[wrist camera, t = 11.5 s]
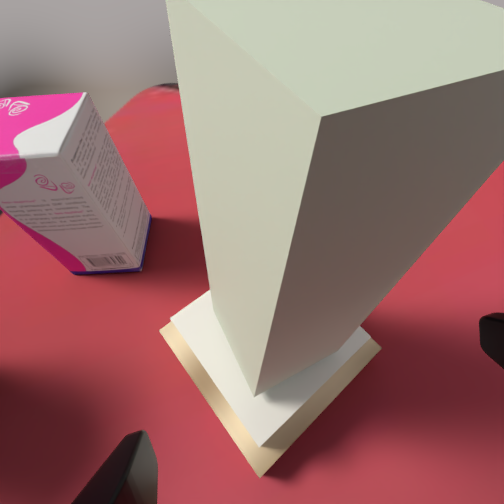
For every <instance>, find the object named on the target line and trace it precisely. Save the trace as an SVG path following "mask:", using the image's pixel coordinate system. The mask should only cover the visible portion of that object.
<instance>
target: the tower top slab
mask: <svg viewBox="0 0 504 504" xmlns="http://www.w3.org/2000/svg"><path fill="white" fill-rule="evenodd" d="M170 319H171V321H172V322H173V324H174V325H175V327H176V328H177V329H178V331H179V332H180V334H181V335H182V337H183V338H184V340H185V341H186V342H187V344H188V345H189V347H190V348H191V350H192V351H193V353H194V354H195V356H196V357H197V358H198V360H199V361H200V363H201V364H202V366H203V367H204V369H205V370H206V371H207V373H208V374H209V376H210V377H211V379H212V380H213V382H214V383H215V385H216V386H217V387H218V389H219V390H220V392H221V393H222V395H223V396H224V398H225V399H226V401H227V402H228V403H229V405H230V406H231V408H232V409H233V411H234V412H235V414H236V415H237V416H238V418H239V419H240V421H241V422H242V424H243V425H244V427H245V428H246V430H247V431H248V432H249V434H250V435H251V437H252V438H253V440H254V441H255V443H256V444H257V445H258V447H260V446H261V445H262V444H263V443H264V442H265V441H266V440H267V439H268V438H269V437H270V436H271V435H272V434H273V433H274V432H275V431H276V430H277V429H278V428H279V427H281V426H282V425H283V424H284V423H285V422H286V421H287V420H288V419H289V418H290V417H291V416H292V415H293V414H294V413H295V412H296V411H297V410H298V409H299V408H300V407H301V406H302V405H303V404H304V403H305V402H306V401H307V400H308V399H309V398H310V397H311V396H312V395H313V394H314V393H315V392H316V391H317V390H318V389H319V388H320V387H321V386H322V385H323V384H324V383H325V382H326V381H327V380H328V379H329V378H330V377H331V376H332V375H333V374H334V373H335V372H336V371H337V370H338V369H339V368H340V367H341V366H342V365H343V364H344V363H345V362H346V361H347V360H348V359H349V358H350V357H351V356H352V355H353V354H354V353H355V352H357V351H358V350H359V349H360V348H361V347H362V346H363V345H364V344H365V343H366V342H367V341H368V340H369V339H370V338H371V336H370V335H369V334H368V333H367V332H366V331H365V330H364V329H363V328H362V327H361V326H359V327H358V328H357V329H356V331H355V332H354V333H353V334H352V335H351V336H350V337H349V339H348V340H347V341H346V342H345V343H344V344H343V346H342V347H341V348H340V349H339V350H338V351H337V352H335V353H333V354H331V355H329V356H328V357H326V358H324V359H322V360H320V361H319V362H317V363H315V364H313V365H311V366H310V367H308V368H306V369H304V370H302V371H301V372H299V373H297V374H295V375H293V376H292V377H290V378H288V379H286V380H284V381H283V382H281V383H279V384H277V385H275V386H274V387H272V388H270V389H268V390H266V391H265V392H263V393H261V394H259V395H257V396H256V397H254V396H253V394H252V392H251V390H250V388H249V386H248V384H247V381H246V379H245V377H244V375H243V373H242V371H241V369H240V366H239V364H238V362H237V360H236V358H235V356H234V354H233V351H232V349H231V347H230V345H229V343H228V341H227V339H226V336H225V334H224V332H223V330H222V328H221V326H220V324H219V321H218V319H217V317H216V315H215V313H214V311H213V305H212V298H211V292H210V290H209V291H207V292H206V293H204V294H203V295H202V296H200V297H199V298H198V299H196V300H195V301H193V302H192V303H191V304H189V305H188V306H186V307H185V308H184V309H182V310H181V311H179V312H178V313H177V314H175V315H174V316H172V317H171V318H170Z"/></svg>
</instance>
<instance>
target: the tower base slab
mask: <svg viewBox="0 0 504 504" xmlns="http://www.w3.org/2000/svg"><path fill="white" fill-rule="evenodd" d="M159 331H160V333H161V334H162V336H163V337H164V339H165V340H166V342H167V343H168V345H169V346H170V347H171V349H172V350H173V352H174V353H175V355H176V356H177V358H178V359H179V361H180V362H181V364H182V365H183V367H184V368H185V370H186V371H187V372H188V374H189V375H190V377H191V378H192V380H193V381H194V383H195V384H196V386H197V387H198V389H199V390H200V392H201V393H202V395H203V396H204V397H205V399H206V400H207V402H208V403H209V405H210V406H211V408H212V409H213V411H214V412H215V414H216V415H217V417H218V418H219V419H220V421H221V422H222V424H223V425H224V427H225V428H226V430H227V431H228V433H229V434H230V436H231V437H232V439H233V440H234V442H235V443H236V444H237V446H238V447H239V449H240V450H241V452H242V453H243V455H244V456H245V458H246V459H247V461H248V462H249V464H250V465H251V467H252V468H253V469H254V471H255V472H256V474H257V475H258V477H259V478H261V476H262V475H263V474H264V473H265V472H266V471H267V470H268V469H269V468H270V467H271V466H272V465H273V464H274V463H275V462H276V461H277V459H278V458H279V457H280V456H281V455H282V454H283V453H284V452H285V451H286V450H287V449H288V448H289V447H290V446H291V445H292V443H293V442H294V441H295V440H296V439H297V438H298V437H299V436H300V435H301V434H302V433H303V432H304V431H305V430H306V429H307V427H308V426H309V425H310V424H311V423H312V422H313V421H314V420H315V419H316V418H317V417H318V416H319V415H320V414H321V413H322V411H323V410H324V409H325V408H326V407H327V406H328V405H329V404H330V403H331V402H332V401H333V400H334V399H335V398H336V397H337V396H338V394H339V393H340V392H341V391H342V390H343V389H344V388H345V387H346V386H347V385H348V384H349V383H350V382H351V381H352V380H353V378H354V377H355V376H356V375H357V374H358V373H359V372H360V371H361V370H362V369H363V368H364V367H365V366H366V365H367V364H368V362H369V361H370V360H371V359H372V358H373V357H374V356H375V355H376V354H377V353H378V352H379V351H380V350H381V349H382V348H381V347H380V346H379V345H378V344H377V343H376V342H375V341H374V340H373V339H372V338H370V339H369V340H368V341H367V342H366V343H365V344H364V345H363V346H362V347H361V348H360V349H359V350H358V351H357V352H355V353H354V354H353V355H352V356H351V357H350V358H349V359H348V360H347V361H346V362H345V363H344V364H343V365H342V366H341V367H340V368H339V369H338V370H337V371H336V372H335V373H334V374H333V375H332V376H331V377H330V378H329V379H328V380H327V381H326V382H325V383H324V384H323V385H322V386H321V387H320V388H319V389H318V390H317V391H316V392H315V393H314V394H313V395H312V396H311V397H310V398H309V399H308V400H307V401H306V402H305V403H304V404H303V405H302V406H301V407H300V408H299V409H298V410H297V411H296V412H295V413H294V414H293V415H292V416H291V417H290V418H289V419H288V420H287V421H286V422H285V423H284V424H283V425H282V426H281V427H279V428H278V429H277V430H276V431H275V432H274V433H273V434H272V435H271V436H270V437H269V438H268V439H267V440H266V441H265V442H264V443H263V444H262V445H261V446H260V447H258V445H257V444H256V443H255V441H254V440H253V438H252V437H251V435H250V434H249V432H248V431H247V430H246V428H245V427H244V425H243V424H242V422H241V421H240V419H239V418H238V416H237V415H236V414H235V412H234V411H233V409H232V408H231V406H230V405H229V403H228V402H227V401H226V399H225V398H224V396H223V395H222V393H221V392H220V390H219V389H218V387H217V386H216V385H215V383H214V382H213V380H212V379H211V377H210V376H209V374H208V373H207V371H206V370H205V369H204V367H203V366H202V364H201V363H200V361H199V360H198V358H197V357H196V356H195V354H194V353H193V351H192V350H191V348H190V347H189V345H188V344H187V342H186V341H185V340H184V338H183V337H182V335H181V334H180V332H179V331H178V329H177V328H176V327H175V325H174V324H173V322H172V321H171V322H170V323H168V324H167V325H166V326H164V327H163V328H162V329H160V330H159Z"/></svg>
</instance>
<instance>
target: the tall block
mask: <svg viewBox="0 0 504 504" xmlns="http://www.w3.org/2000/svg"><path fill="white" fill-rule="evenodd" d="M166 6H167V12H168V19H169V26H170V31H171V38H172V45H173V51H174V58H175V64H176V71H177V78H178V84H179V91H180V97H181V104H182V110H183V116H184V123H185V129H186V136H187V142H188V149H189V155H190V162H191V168H192V175H193V181H194V188H195V194H196V201H197V207H198V214H199V220H200V227H201V233H202V240H203V246H204V253H205V259H206V266H207V272H208V279H209V285H210V292H211V298H212V305H213V311H214V313H215V315H216V317H217V319H218V321H219V324H220V326H221V328H222V330H223V332H224V334H225V336H226V339H227V341H228V343H229V345H230V347H231V349H232V351H233V354H234V356H235V358H236V360H237V362H238V364H239V366H240V369H241V371H242V373H243V375H244V377H245V379H246V381H247V384H248V386H249V388H250V390H251V392H252V394H253V396H254V397H256V396H257V395H259V394H261V393H263V392H265V391H266V390H268V389H270V388H272V387H274V386H275V385H277V384H279V383H281V382H283V381H284V380H286V379H288V378H290V377H292V376H293V375H295V374H297V373H299V372H301V371H302V370H304V369H306V368H308V367H310V366H311V365H313V364H315V363H317V362H319V361H320V360H322V359H324V358H326V357H328V356H329V355H331V354H333V353H335V352H337V351H338V350H339V349H340V348H341V347H342V346H343V344H344V343H345V342H346V341H347V340H348V339H349V337H350V336H351V335H352V334H353V333H354V332H355V331H356V329H357V328H358V327H359V326H360V325H361V324H362V323H363V321H364V320H365V319H366V318H367V317H368V316H369V314H370V313H371V312H372V311H373V310H374V309H375V308H376V306H377V305H378V304H379V303H380V302H381V301H382V300H383V298H384V297H385V296H386V295H387V294H388V293H389V292H390V290H391V289H392V288H393V287H394V286H395V285H396V283H397V282H398V281H399V280H400V279H401V278H402V277H403V275H404V274H405V273H406V272H407V271H408V270H409V269H410V267H411V266H412V265H413V264H414V263H415V262H416V260H417V259H418V258H419V257H420V256H421V255H422V254H423V252H424V251H425V250H426V249H427V248H428V247H429V246H430V244H431V243H432V242H433V241H434V240H435V239H436V237H437V236H438V235H439V234H440V233H441V232H442V231H443V229H444V228H445V227H446V226H447V225H448V224H449V223H450V221H451V220H452V219H453V218H454V217H455V216H456V214H457V213H458V212H459V211H460V210H461V209H462V208H463V206H464V205H465V204H466V203H467V202H468V201H469V200H470V198H471V197H472V196H473V195H474V194H475V193H476V191H477V190H478V189H479V188H480V187H481V186H482V185H483V183H484V182H485V181H486V180H487V179H488V178H489V177H490V175H491V174H492V173H493V172H494V171H495V170H496V168H497V167H498V166H499V165H500V164H501V163H502V162H503V160H504V8H501V7H498V6H495V5H492V4H489V3H487V2H484V1H481V0H166Z"/></svg>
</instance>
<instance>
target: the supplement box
mask: <svg viewBox="0 0 504 504" xmlns="http://www.w3.org/2000/svg"><path fill="white" fill-rule="evenodd" d="M0 209H1V210H2V211H3V212H4V213H5V214H6V215H7V216H8V217H9V218H11V219H12V220H13V221H14V222H15V223H16V224H17V225H19V226H20V227H21V228H22V229H23V230H24V231H25V232H26V233H28V234H29V235H30V236H31V237H32V238H33V239H34V240H35V241H37V242H38V243H39V244H40V245H41V246H42V247H43V248H45V249H46V250H47V251H48V252H49V253H50V254H51V255H53V256H54V257H55V258H56V259H57V260H58V261H59V262H60V263H61V264H63V265H64V266H65V267H66V268H67V269H68V270H69V271H70V272H72V273H73V274H75V275H79V274H99V273H115V272H132V271H142V268H143V263H144V257H145V251H146V246H147V241H148V235H149V231H150V225H151V219H152V217H151V215H150V213H149V211H148V209H147V207H146V205H145V203H144V201H143V199H142V197H141V195H140V194H139V192H138V190H137V188H136V186H135V184H134V182H133V180H132V178H131V176H130V174H129V172H128V170H127V168H126V166H125V164H124V162H123V160H122V158H121V156H120V154H119V152H118V150H117V148H116V146H115V144H114V143H113V141H112V139H111V137H110V135H109V133H108V131H107V129H106V127H105V125H104V123H103V121H102V119H101V117H100V115H99V113H98V111H97V109H96V107H95V106H94V104H93V101H92V99H91V97H90V96H89V94H88V93H87V92H84V93H71V94H70V93H69V94H55V95H41V96H26V97H12V98H0Z"/></svg>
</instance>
